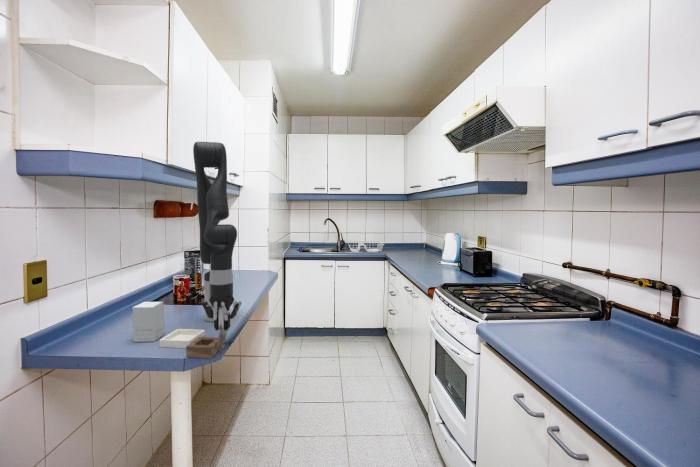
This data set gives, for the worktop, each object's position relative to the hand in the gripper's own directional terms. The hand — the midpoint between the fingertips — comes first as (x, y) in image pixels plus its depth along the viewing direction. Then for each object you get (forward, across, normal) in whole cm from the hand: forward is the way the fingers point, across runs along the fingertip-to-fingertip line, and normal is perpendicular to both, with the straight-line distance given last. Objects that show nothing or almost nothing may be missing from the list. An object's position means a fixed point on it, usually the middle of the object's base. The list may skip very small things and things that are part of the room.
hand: (222, 329), depth 115 cm
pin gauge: (+4, 0, 0) cm, 4 cm away
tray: (+5, +14, 0) cm, 15 cm away
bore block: (+5, +2, +8) cm, 10 cm away
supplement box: (+5, +28, -2) cm, 29 cm away
